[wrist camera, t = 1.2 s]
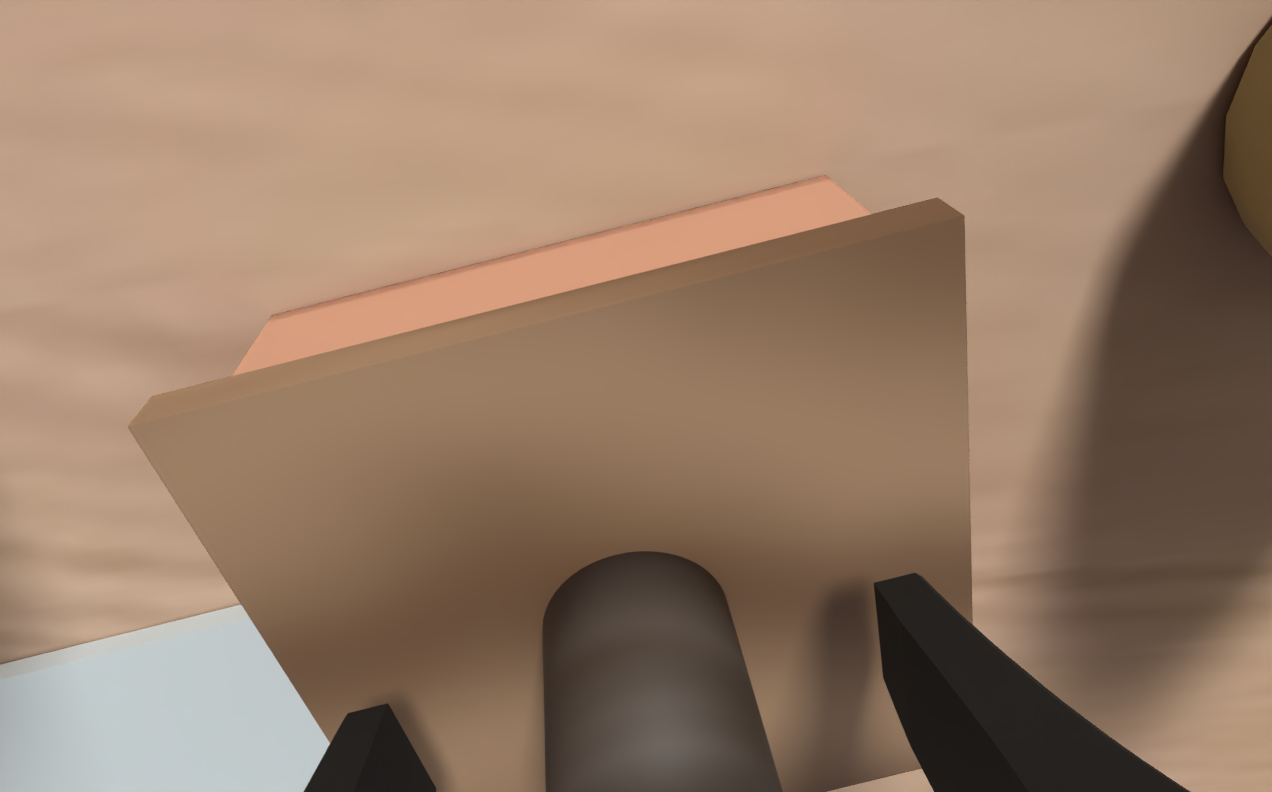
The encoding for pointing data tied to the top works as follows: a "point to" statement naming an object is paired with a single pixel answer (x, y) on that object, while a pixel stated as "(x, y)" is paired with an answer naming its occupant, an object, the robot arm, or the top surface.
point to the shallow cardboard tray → (550, 270)
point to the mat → (158, 714)
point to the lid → (610, 514)
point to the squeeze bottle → (1252, 144)
